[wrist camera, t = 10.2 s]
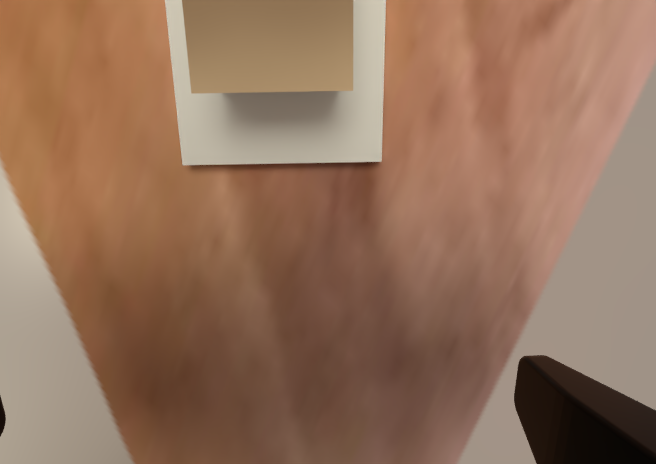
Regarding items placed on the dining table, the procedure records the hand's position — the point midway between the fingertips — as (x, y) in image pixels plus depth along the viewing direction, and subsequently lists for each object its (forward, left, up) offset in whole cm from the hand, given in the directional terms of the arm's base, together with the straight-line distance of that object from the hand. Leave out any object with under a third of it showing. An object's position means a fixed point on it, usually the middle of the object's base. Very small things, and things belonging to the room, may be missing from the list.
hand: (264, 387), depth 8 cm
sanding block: (+7, 0, -10) cm, 12 cm away
